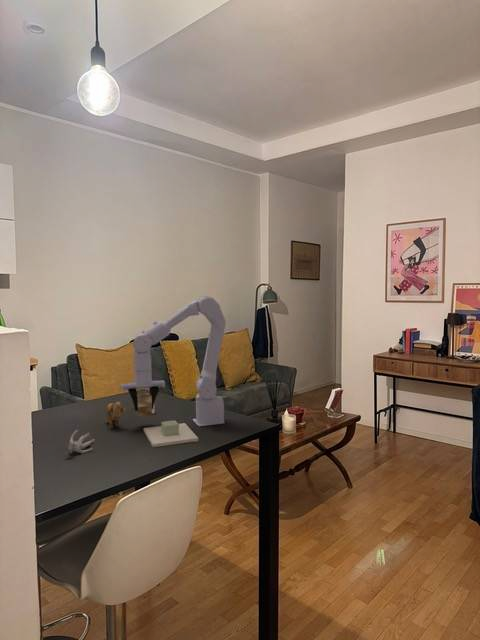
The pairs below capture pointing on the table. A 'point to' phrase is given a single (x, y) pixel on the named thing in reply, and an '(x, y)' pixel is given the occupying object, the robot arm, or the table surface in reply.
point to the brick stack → (144, 405)
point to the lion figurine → (114, 413)
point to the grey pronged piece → (79, 444)
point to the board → (170, 439)
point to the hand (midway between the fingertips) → (143, 409)
